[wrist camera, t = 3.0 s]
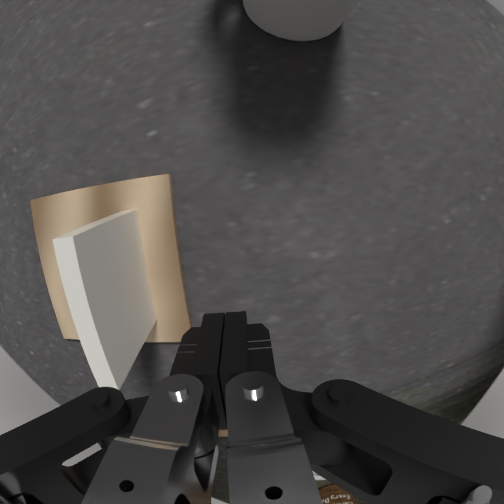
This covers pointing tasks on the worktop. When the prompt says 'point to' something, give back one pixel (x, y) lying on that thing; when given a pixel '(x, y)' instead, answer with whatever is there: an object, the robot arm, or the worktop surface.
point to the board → (153, 239)
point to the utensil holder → (335, 495)
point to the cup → (299, 17)
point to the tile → (107, 292)
